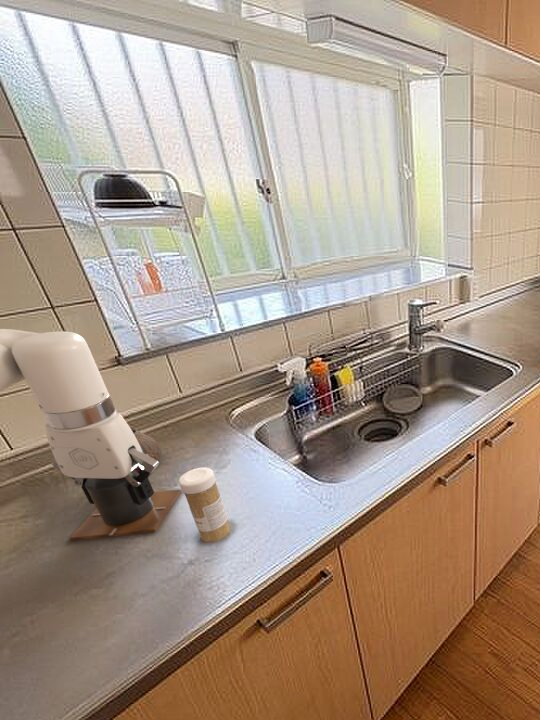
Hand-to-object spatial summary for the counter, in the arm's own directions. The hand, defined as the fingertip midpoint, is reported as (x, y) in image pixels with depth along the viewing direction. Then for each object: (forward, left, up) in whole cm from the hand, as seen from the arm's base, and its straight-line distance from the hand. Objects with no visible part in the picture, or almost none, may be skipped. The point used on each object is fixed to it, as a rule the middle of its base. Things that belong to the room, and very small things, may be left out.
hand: (123, 498), depth 73 cm
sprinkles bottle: (+16, -7, -5) cm, 18 cm away
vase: (-5, +15, -5) cm, 17 cm away
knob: (0, 0, -3) cm, 3 cm away
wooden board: (0, 0, -5) cm, 5 cm away
